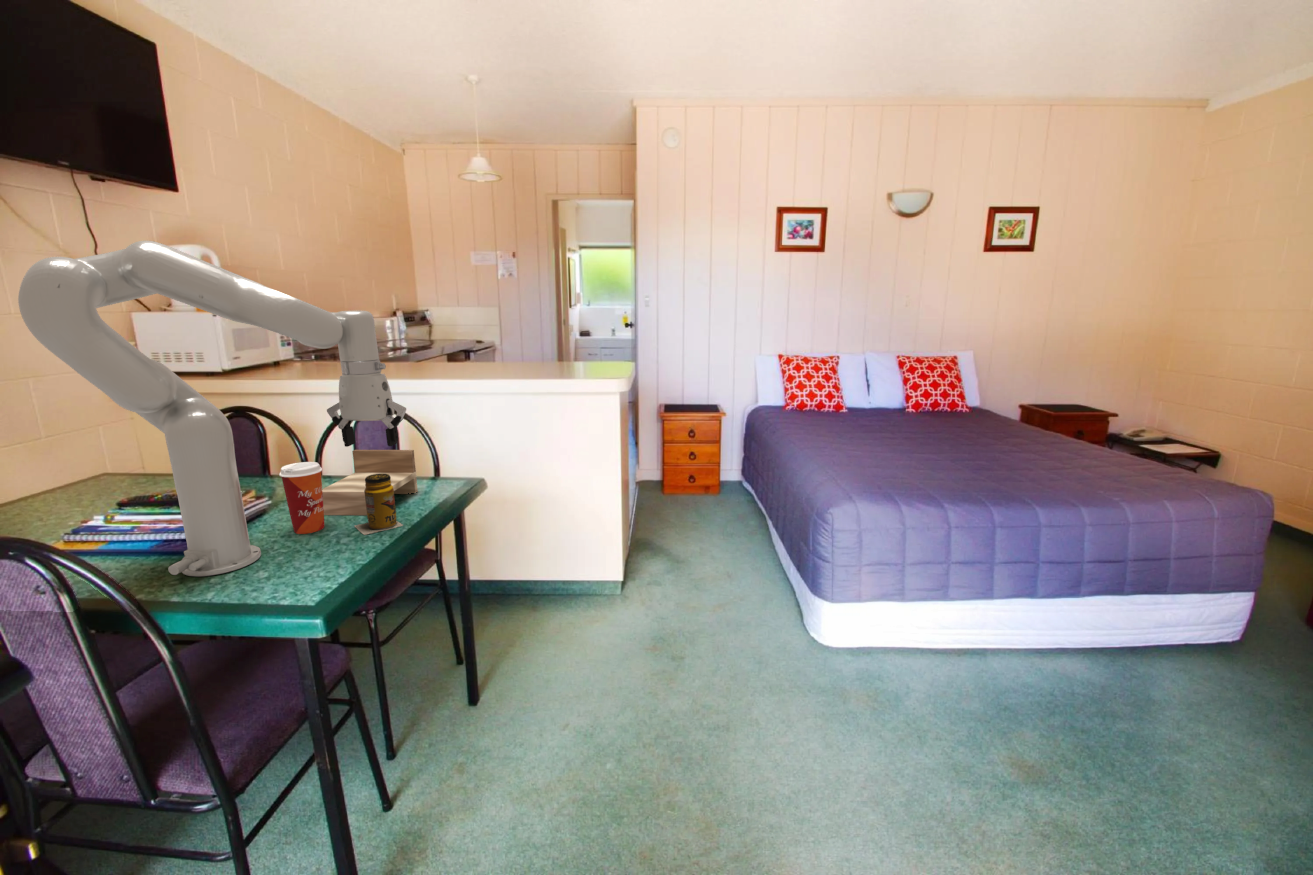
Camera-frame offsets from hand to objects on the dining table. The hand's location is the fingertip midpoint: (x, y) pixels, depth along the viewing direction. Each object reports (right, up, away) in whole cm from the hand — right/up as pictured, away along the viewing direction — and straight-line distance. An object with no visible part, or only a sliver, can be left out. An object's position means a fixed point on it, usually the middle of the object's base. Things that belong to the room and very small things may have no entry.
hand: (371, 445), depth 126 cm
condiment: (0, -19, +4) cm, 20 cm away
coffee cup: (-15, -19, +2) cm, 25 cm away
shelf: (-10, -15, +20) cm, 27 cm away
